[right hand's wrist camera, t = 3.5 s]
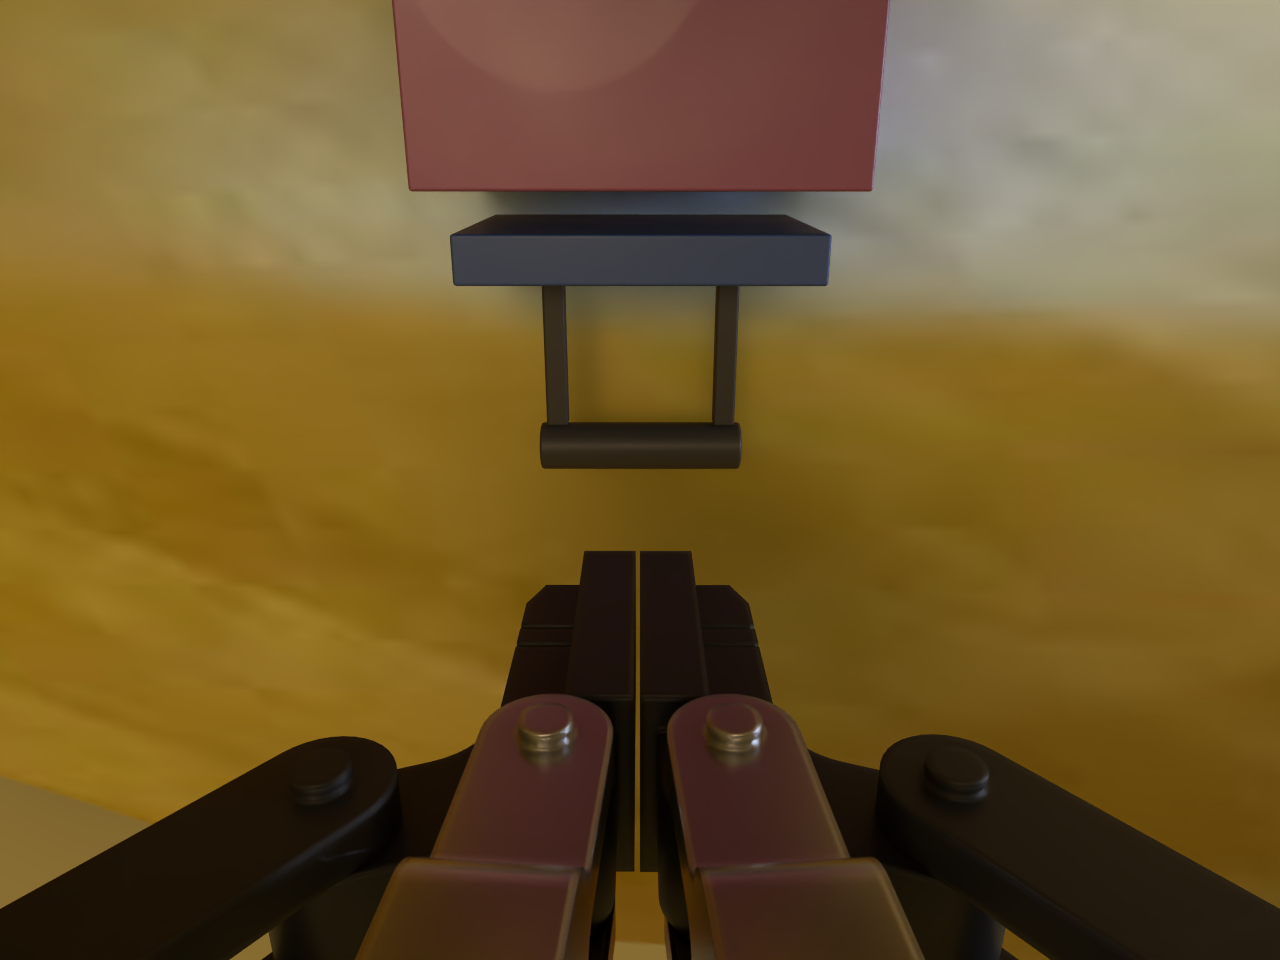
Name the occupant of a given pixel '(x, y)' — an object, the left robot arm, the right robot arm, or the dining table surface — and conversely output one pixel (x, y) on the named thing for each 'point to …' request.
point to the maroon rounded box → (640, 94)
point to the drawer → (640, 258)
